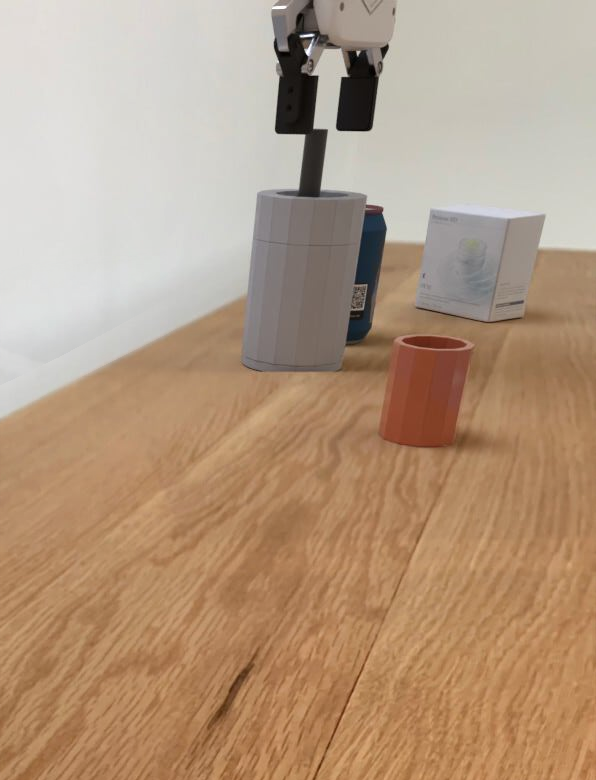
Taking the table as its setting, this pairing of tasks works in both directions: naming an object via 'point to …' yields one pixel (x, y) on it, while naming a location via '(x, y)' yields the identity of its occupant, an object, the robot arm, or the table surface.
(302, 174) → the dark grey rod
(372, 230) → the soda can
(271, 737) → the table surface
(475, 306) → the cosmetics box
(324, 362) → the grey cylindrical canister
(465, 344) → the brush pot
